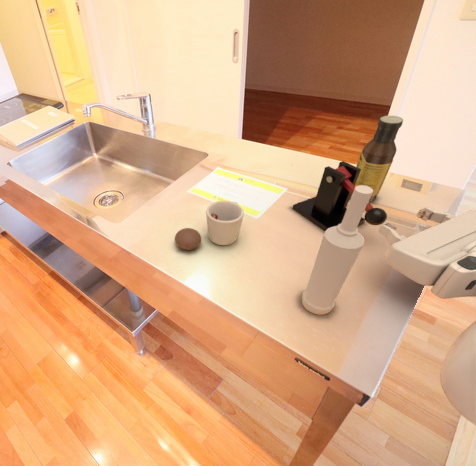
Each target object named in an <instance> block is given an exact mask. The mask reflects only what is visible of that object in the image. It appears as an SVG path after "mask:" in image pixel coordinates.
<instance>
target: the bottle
mask: <svg viewBox="0 0 476 466" xmlns="http://www.w3.org/2000/svg"><path fill="white" fill-rule="evenodd" d="M372 193H373V189H372V188H370V187H368V186H364V185H359V186H356V187H355V189H354V192H353V194H352V197H350V199H349V202H348V204H347V207H346V208H347V210H346V213H345V215H344V218H343V220H342V223H341V224H339V225H338V226H334V227H331V228H328V229H327V230H326V231H324V232H323V236H322V239H321V243H320V245H319V248H318V252H317V255H316V257H315V261H314V264H313V267H312V270H311V273H310V276H309V279H308V282H307V285H306V288H305V289H304V291H302V295H301V303H302V307H304V308H305V310H307V311H308V312H309V313H311V314H315V315H317V316H319V315H320V316H323V315H326V314H329V313H330V312H331V311H332V310H333V309H334V307H335V305H336V299H337V297H338V295H339V293H340V291H341V289H342V288H343V285H344V284H345V282H346V279H347V278H348V275H349V274H350V272H351V270H352V268H353V266H354V265H355V262H356V260H357V259H358V256H359V255H360V252H361V251H362V249H363V247H364V245H365V238H364V236H363V235H362V233H361V232H360V231H359V227H358V226H359V225H358V224H359V222H360V219H361V217H362V218H363V214H364V212H365V208H366V205H367V204H368V202H369V200H370V198H371V195H372ZM369 203H370V202H369Z"/></svg>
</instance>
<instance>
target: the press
mask: <svg viewBox="0 0 476 466" xmlns="http://www.w3.org/2000/svg"><path fill="white" fill-rule="evenodd" d="M342 166H344V167H345V168H346V169H347V171H348V172H349V173H350V174H351V175H352V176H351V177H350V178H349V180H350V182H351V183H352V184H353V185H354V186H355V184H356V181H357V179H358V176H359V174H360V171H361V169H359V168H357V167H356V165H353V164H351V163H348V162H346V161H344V160H342V161H339V163H338V166H337V168H339V167H342ZM335 169H336V168H334V167H332V166H325V168H324V170H323V173H322V175H321V176H322V177H321V179H320V183H319V186H318V190H317V193H316V195H315V196H313V197H310V198H308V199H305V200H302V201H300V202H297V203H294V204H293V205H292V210H293V211H295V212H296V213H298V214H300V215H301V216H302V217H304V218H305V219H307V220H308V221H310V222H311V223H312V224H314V225H316V227H318V228H320V229H322V230H323V231H324V232H325V231H326V230H327V229H328V228H331V227H334V226H338V225H339V224H341V223H342V220H343V218H344V215H345V213H346V210H347V208H348V205H349V203H350V200H351V193H350V192H349V191H348V190H347V189H346V188H345V186H344V185H343V182H344V179H345V176H346V175H345V174H343V173H341V172H339V171H337V170H335ZM365 222H366V220H365V217H363V216H362V217H361V219H360V222H359V224H358V226H361V225H363V224H365Z"/></svg>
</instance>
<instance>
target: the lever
mask: <svg viewBox="0 0 476 466" xmlns="http://www.w3.org/2000/svg"><path fill="white" fill-rule="evenodd" d="M334 169H335V170H337V171H339V172H341V173H343V174H345V175H346V176H345V179H344V182H343V185H344V186H345V188H346V189H347V190H348V191H349V192H350V193H351V195H352V194H353V192H354V189H355V186H354V185H353V184H352V183H351V182H350V180H349V178H350V177H351V176H352V175H351V174H350V173H349V172H348V171H347V169H346V168H345V167H344V166H342V167H339V168H338V167H337V168H334ZM364 212H365V213H364V219H365V222H366V223H367V224H368V225H370V226H380V225H384V223H385V222H386V221H387V218H388V213H387V212H386V211H385V210H384V209H383V208H380V207H373V205H372V204H371V203H370V202H368V204H367V205H366V208H365V210H364Z"/></svg>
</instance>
